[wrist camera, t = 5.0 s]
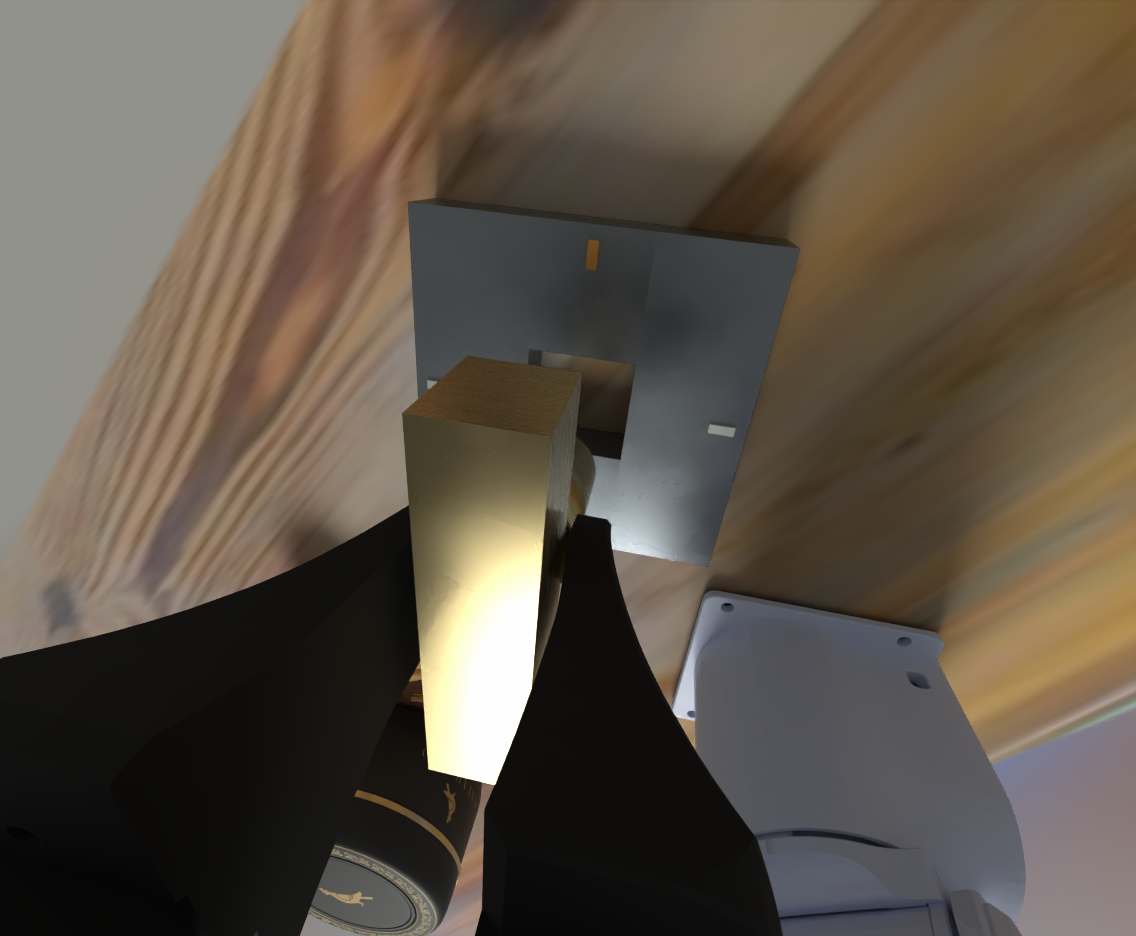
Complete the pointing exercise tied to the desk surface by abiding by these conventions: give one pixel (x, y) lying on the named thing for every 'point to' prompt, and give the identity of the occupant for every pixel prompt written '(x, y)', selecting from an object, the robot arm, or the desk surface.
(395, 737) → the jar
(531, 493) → the t key
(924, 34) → the desk surface
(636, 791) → the robot arm
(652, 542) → the key plate
